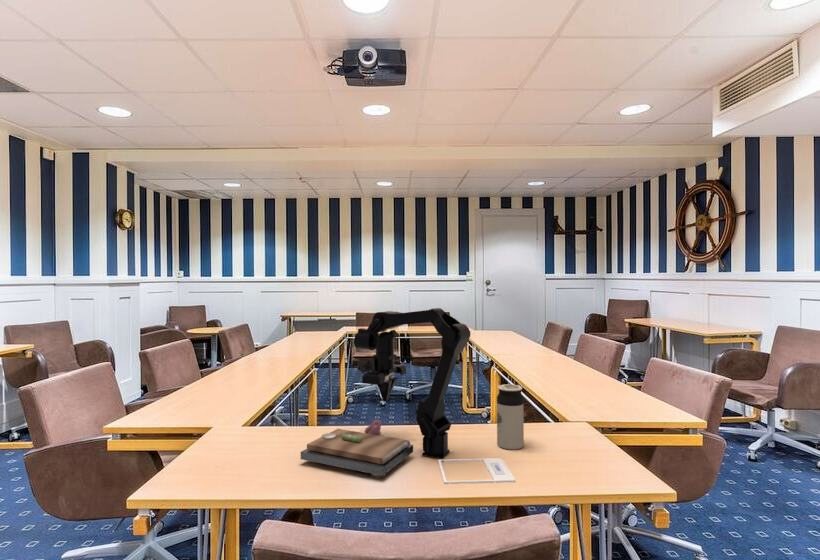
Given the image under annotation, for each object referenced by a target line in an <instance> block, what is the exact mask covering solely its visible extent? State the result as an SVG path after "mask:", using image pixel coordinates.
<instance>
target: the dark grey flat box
mask: <svg viewBox="0 0 820 560" xmlns="http://www.w3.org/2000/svg"><path fill="white" fill-rule="evenodd" d="M413 453H414V445H413V444H410V445H409V446H407V447H406V448H405V449H403V450H402V451H401V452H399V453H398V454H397V455H395V456H394V457H392V458H391V459H390V460H388V461H387V462H386V463H384V464H378V463H373V462H368V461H363V460H358V459H353V458H348V457H343V456H337V455H332V454H327V453H322V452H317V451H312V450H307V448H305V449H303V450H302V451H301V450H300V460H303V461H309V462H312V463H316V464H317V463H318V464H323V465H328V466H333V467H337V468H343V469H347V470H352V471H359V472H361V473H367V474H370V475H371V477H372V478H375V479H380V478H381V479H382V478H384V477H385V476H386V474H387V473H388V472H389V471H391V470H392V469H394V468H395V467H396V466H397V465H398V464H400V463H402V462H404V461H406V460H405V459H406V458H408V457H409V456H410V455H411V454H413Z"/></svg>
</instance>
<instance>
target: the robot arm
mask: <svg viewBox="0 0 820 560" xmlns="http://www.w3.org/2000/svg"><path fill="white" fill-rule="evenodd" d="M422 323H423V324H424V323H431V325H433V327H434V328H435V330H436V332H437V333H438V334H439V335H440V336H441V340H440V341H441V343H440V344H441V355H440V358H439V362H438V365H437V368H436V371H435V374H434V378H433V380H432V382H431V383H432V384H431V387H430V390H429V393H428V396H427V397H426V398H422V399H420V400H419V401H418V404H417V409H416V410H415V412H414V414H416V415H415V421H416V423H417V424H418V426H419V429H420V432H421V436H423V437H422V453H421V456H423V457H428V458H435V459H438V460H444V458H445V457H446V456H447V455H449V453H451V450H450V449H448V448H449V437H448V436H449V435H448V434H449V433H448V432H447V431H450V429H451V426H452V423H451V421H450V420H449V419H448V418H447V416H445V409H446V407H445V401H444V400H445V397H446V394H447V391H448V389H449V388H448V387H449V384H450V381H451V378H452V375H453V372H454V369H455V366H456V363H457V360H458V357H459V355H460V354H461V353H462V351H463V350H464V349H465V348H466V346H467V344H468V342H469V340H470V338H471V330H470V328H469V327H468V326H467V325H466V324H465V323H461V322H460V321H459V320H457V318H454V317H453V316H451V315H450V314H448V313H447V312H446V311H445V310H443V309H442V308H439V307H436V308H435V307H433V308H430V309H426V310H417V311H409V312H401V311H392V310H387V311H386V310H385V311H377V312H375V313H374V315H373V317H372V321H371V322H370V323H369V325H368V327H367V328H363V327H362V328H357V332H356V334H355V335H354V339H353V346H354V348H356V349H357V350H364V351H374V350H375V354H373V355H372V359H371V360H368V361H367V360H366V359H362V360H359V361H357V371H359V372H360V374H363V375H361V383H362V384H368V385H376V386H377V388H378V390H379V393H380V396H381V400H382V402H383V403H384V402H387V401H388V400H389V398H390V395H391V394H392V391H393V389H394V388H395V385H396V383H397V382H398V381H397V380H399V378H398V377H395V375H394V374H400V375H401V376H404V375H406V374H407V368H406V366H405V365H404V364H395V359H396V358H397V353H395V339H396V338H400V337H401V335H400V334H399V333H398V332H397V330H396V329H395V328H399V327H402V326H405V325H412V324H414V325H415V324H422ZM388 330H389V331H388ZM379 333H380V334H379Z"/></svg>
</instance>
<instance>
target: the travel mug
mask: <svg viewBox="0 0 820 560" xmlns="http://www.w3.org/2000/svg"><path fill="white" fill-rule="evenodd" d="M497 389H498V394H497V396H496V444H497V446H498V447H500V448H502V449H505V450H519V449H521V448H523V447H524V445H525V444H524V443H525V440H524V439H525V437H524V434H525V433H524V429H525V428H524V423H525V422H524V416H525V415H524V397H523V395H522V390H523V386H521V385H518V384H511V383H510V384H509V383H508V384H504V383H503V384H500V385H497Z"/></svg>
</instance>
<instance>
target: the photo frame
mask: <svg viewBox="0 0 820 560" xmlns="http://www.w3.org/2000/svg"><path fill="white" fill-rule="evenodd" d="M442 462H444V463H462V462H463V463H464V462H465V463H466V462H471V463H472V462H483V463H484V466H485V467H487V468H486V469H487V471H488V473H489V475H490V477H491V478H492V479H471V480H470V479H469V480H468V479H467V480H465V479H464V480H447V479H446V475H445V471H444V467H443V463H442ZM437 463H438V467H439V470H440V474H441V475H440V476H441V478H442V481H443V484H444V485H458V483H469V484H493V483H494V482H496V483H494V484H498V483H499V484H500V483H501V482H502V483H501V484H503V482H507V483H516V482H517V481H516V478H515V477H514V476H513V474H512V473H511V471H510V469H509V467H508V466H507V464H506V463H505V461H504V460H503V458H502V457H501V458H500V457H497V458H496V457H494V458H493V457H491V458H488V457H487V458H460V459H459V458H457V459H456V458H454V459H451V458H449V459H437ZM449 483H451V484H449Z"/></svg>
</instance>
